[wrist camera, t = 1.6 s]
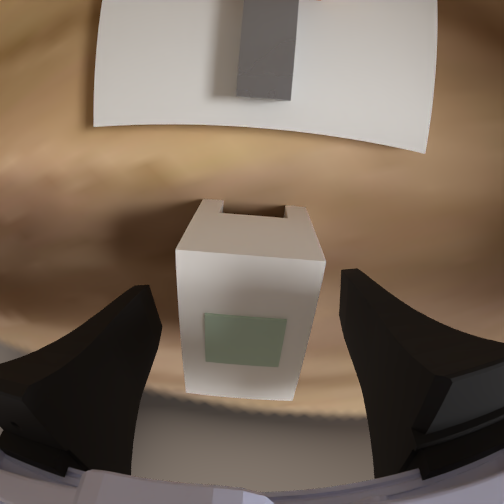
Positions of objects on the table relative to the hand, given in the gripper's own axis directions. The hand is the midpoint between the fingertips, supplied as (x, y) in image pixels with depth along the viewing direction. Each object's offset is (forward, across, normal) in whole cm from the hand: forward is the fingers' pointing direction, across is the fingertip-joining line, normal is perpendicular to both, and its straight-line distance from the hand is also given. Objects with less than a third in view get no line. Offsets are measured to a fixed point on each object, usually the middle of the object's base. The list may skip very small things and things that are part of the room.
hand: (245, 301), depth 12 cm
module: (+2, 0, 0) cm, 2 cm away
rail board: (+2, -3, -16) cm, 16 cm away
